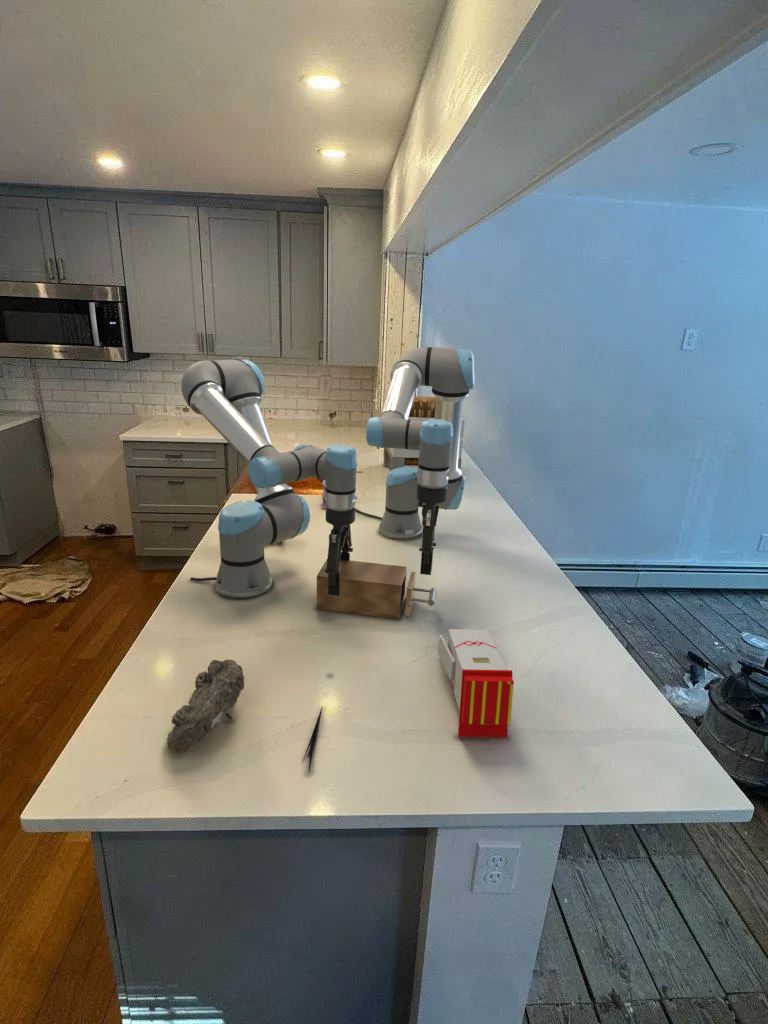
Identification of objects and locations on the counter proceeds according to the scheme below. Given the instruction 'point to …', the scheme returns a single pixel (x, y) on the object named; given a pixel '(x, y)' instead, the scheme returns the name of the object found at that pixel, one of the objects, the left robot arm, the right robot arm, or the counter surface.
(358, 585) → the cabinet
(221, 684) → the fossil
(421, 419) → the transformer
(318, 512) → the counter surface
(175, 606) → the counter surface
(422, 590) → the drawer
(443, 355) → the right robot arm
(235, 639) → the counter surface
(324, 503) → the figurine
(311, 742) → the feather
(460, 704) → the toy
